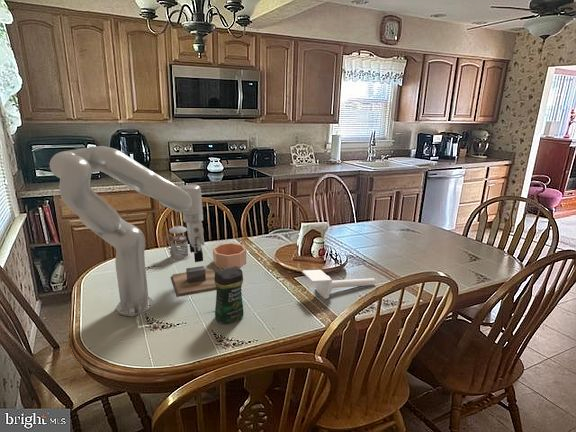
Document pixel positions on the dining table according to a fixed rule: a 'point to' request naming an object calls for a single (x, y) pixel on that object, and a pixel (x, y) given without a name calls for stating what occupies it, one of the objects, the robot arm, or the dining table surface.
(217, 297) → the coffee jar
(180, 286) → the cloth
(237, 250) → the bowl
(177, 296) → the mat
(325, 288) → the white mallet
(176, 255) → the lantern
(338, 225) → the dining table surface
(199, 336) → the dining table surface
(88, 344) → the dining table surface
